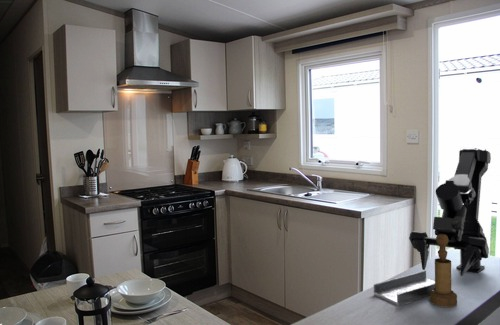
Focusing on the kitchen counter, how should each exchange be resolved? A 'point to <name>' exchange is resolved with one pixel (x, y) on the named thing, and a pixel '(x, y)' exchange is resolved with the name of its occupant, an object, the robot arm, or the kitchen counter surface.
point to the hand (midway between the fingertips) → (441, 272)
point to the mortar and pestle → (443, 277)
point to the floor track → (405, 288)
